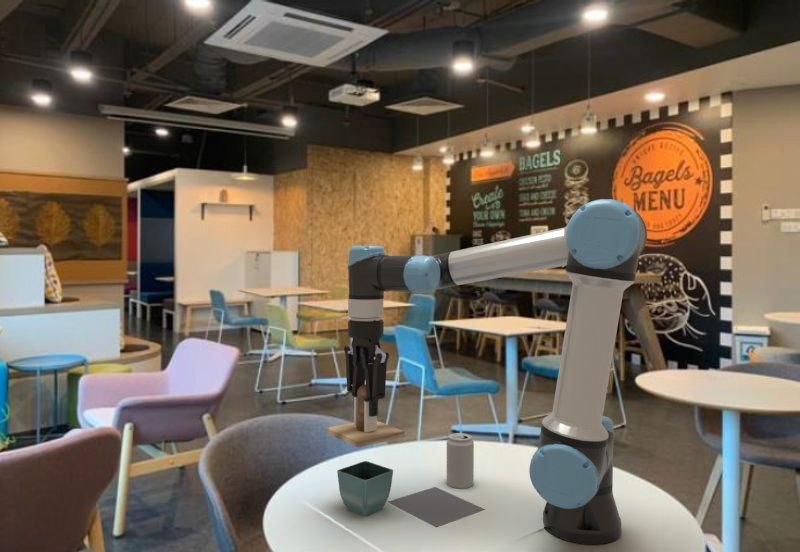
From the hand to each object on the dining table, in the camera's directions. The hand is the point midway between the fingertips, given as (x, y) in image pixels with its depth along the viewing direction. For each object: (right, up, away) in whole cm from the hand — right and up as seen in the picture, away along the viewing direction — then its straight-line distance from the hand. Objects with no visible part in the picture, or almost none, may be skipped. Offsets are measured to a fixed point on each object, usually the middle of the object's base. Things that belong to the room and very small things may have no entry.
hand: (365, 428), depth 129 cm
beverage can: (+22, -18, +15) cm, 32 cm away
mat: (+15, -18, +2) cm, 23 cm away
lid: (0, -1, 0) cm, 1 cm away
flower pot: (0, -18, +1) cm, 18 cm away
